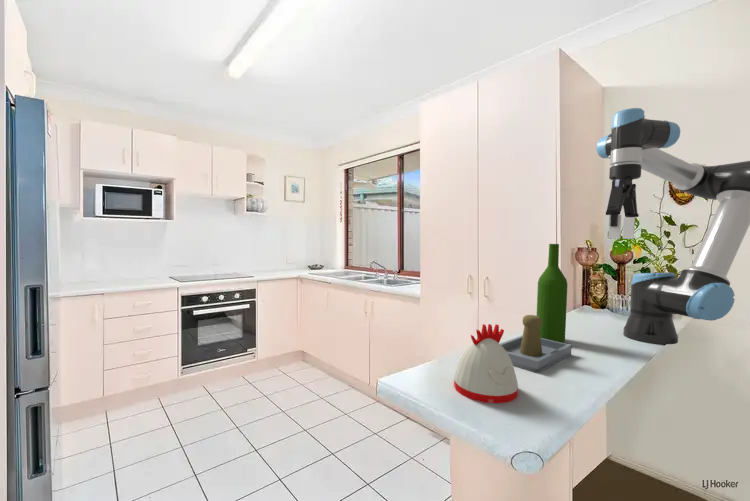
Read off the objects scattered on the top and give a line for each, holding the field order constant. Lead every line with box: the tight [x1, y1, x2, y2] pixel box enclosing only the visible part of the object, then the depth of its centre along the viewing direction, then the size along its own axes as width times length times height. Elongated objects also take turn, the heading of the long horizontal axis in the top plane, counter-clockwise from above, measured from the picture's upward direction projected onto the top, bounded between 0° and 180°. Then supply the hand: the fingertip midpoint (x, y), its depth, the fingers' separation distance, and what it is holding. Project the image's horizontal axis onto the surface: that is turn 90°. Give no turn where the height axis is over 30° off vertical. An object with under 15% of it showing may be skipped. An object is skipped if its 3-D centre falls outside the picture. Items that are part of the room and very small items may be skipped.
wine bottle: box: [536, 243, 568, 343], centre depth 120 cm, size 9×9×32 cm
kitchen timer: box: [453, 323, 519, 404], centre depth 81 cm, size 14×14×15 cm
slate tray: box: [499, 334, 573, 374], centre depth 104 cm, size 22×14×3 cm, turn 131°
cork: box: [520, 314, 542, 357], centre depth 104 cm, size 6×6×11 cm
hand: (621, 238), depth 104 cm, fingers open, 13 cm apart
